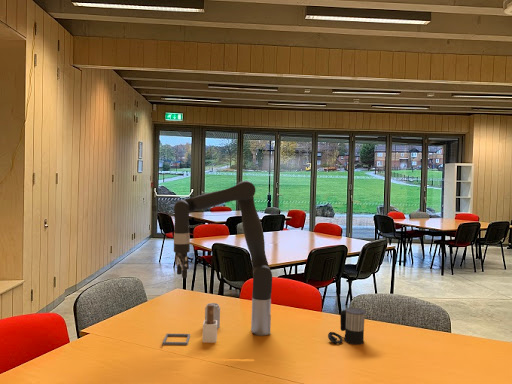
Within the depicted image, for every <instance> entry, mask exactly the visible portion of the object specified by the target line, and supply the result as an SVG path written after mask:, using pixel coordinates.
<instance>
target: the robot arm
mask: <svg viewBox="0 0 512 384" xmlns="http://www.w3.org/2000/svg"><path fill="white" fill-rule="evenodd" d="M255 194H256V187H255V185H254V184H253V183H252V182H251V181H249V180H241V181H239V182H238V183H237V184H236V185H233V186H231V187H229V188H225V189H221V190H216V191H211V192H207V193H203V194H199V195H196V196H194V197H190V198H189V197H188V198H184V199H183V198H182V199H180V200H177V201H176V202H175V203H174V206H173V209H174V210H173V214H174V227H173V228H174V229H173V230H174V231H173V252H174V253H175V259H174V260H175V261H174V262H175V263H174V264H175V266H176V274H177V275H178V276H179V275H181V278H182V279H187V278H188V270H189V269H190V267H189V266H190V264H189V263H190V262H189V256H188V255H187V254H188V253H190V251H191V248H190V247H191V241H190V240H191V237H190V222H189V219H190V213H193V212H195V211H203V210H206V209H210V208H213V207H215V206H217V207H218V206H219V205H223V204H226V203H230V202H234V201H238V205H239V208H240V213H241V223H242V228H243V234H244V240H245V242H246V243H245V244H246V247H247V248H248V252H249V254H250V255H249V256H250V259H251V266H252V292H251V293H252V295H251V322H250V324H251V326H250V327H251V328H250V331H251V333H252V334H253V335H255V336H267V335H271V325H272V324H271V321H272V315H271V311H272V310H271V308H272V305H271V304H272V292H273V291H272V289H273V272H272V270H271V268H270V265H269V262H268V259H267V256H266V248H265V245H266V244H265V236H264V231H263V225H262V222H261V219H260V217H259V214H258V211H257V209H256V205H255V199H254V196H255Z"/></svg>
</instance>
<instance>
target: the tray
mask: <svg viewBox="0 0 512 384" xmlns="http://www.w3.org/2000/svg"><path fill="white" fill-rule="evenodd" d="M168 337H178V338H179V337H180V338H181V337H182V338H186V340H185V341H167V339H168ZM190 338H191V333H166V334H165V336H164V338H163V340H162V347H164V345H165V346H188V345H189V340H190Z"/></svg>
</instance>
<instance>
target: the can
mask: <svg viewBox="0 0 512 384" xmlns="http://www.w3.org/2000/svg"><path fill="white" fill-rule="evenodd" d="M207 305H214V320H217V329H219V328H220V326H221V307H220V304H218V303H216V302H210V303H207V304H206V306H205V308H204V309H205V310H204V320H207Z"/></svg>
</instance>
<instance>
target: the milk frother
mask: <svg viewBox="0 0 512 384" xmlns="http://www.w3.org/2000/svg"><path fill="white" fill-rule="evenodd" d="M339 316H340V319H339V320H340V331H342V332H344V337H343V336H341V335H340V334H339V333H336V332H334V331H330V332H328V334H327V338H328V340H329V341H330V342H331V343H333V344H336V345H337V344H342V343H343V340H344V342H346V343H347V344H351V345H362V344H364V343H365V340H364V331H365V317H366V310H364V309H361V308H358V307H348V308H346V309H342V310H341V311H340V315H339ZM335 336H336V337H335Z"/></svg>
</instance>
